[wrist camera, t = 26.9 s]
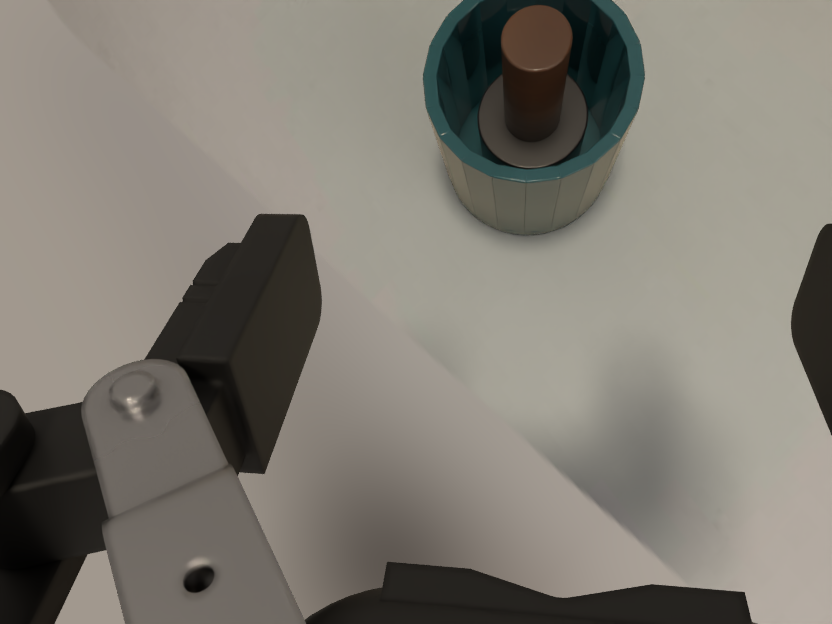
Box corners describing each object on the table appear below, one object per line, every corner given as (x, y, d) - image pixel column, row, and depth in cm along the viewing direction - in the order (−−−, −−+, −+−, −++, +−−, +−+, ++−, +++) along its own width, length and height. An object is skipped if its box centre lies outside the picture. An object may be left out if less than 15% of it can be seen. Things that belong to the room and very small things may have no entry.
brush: (470, 183, 33) (447, 85, 22) (499, 95, 33) (490, -44, 22) (561, 209, 32) (584, 122, 21) (591, 119, 32) (627, -12, 22)
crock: (522, 268, 33) (524, 227, 24) (415, 154, 34) (380, 75, 25) (645, 158, 33) (692, 75, 24) (533, 47, 34) (538, -71, 25)
